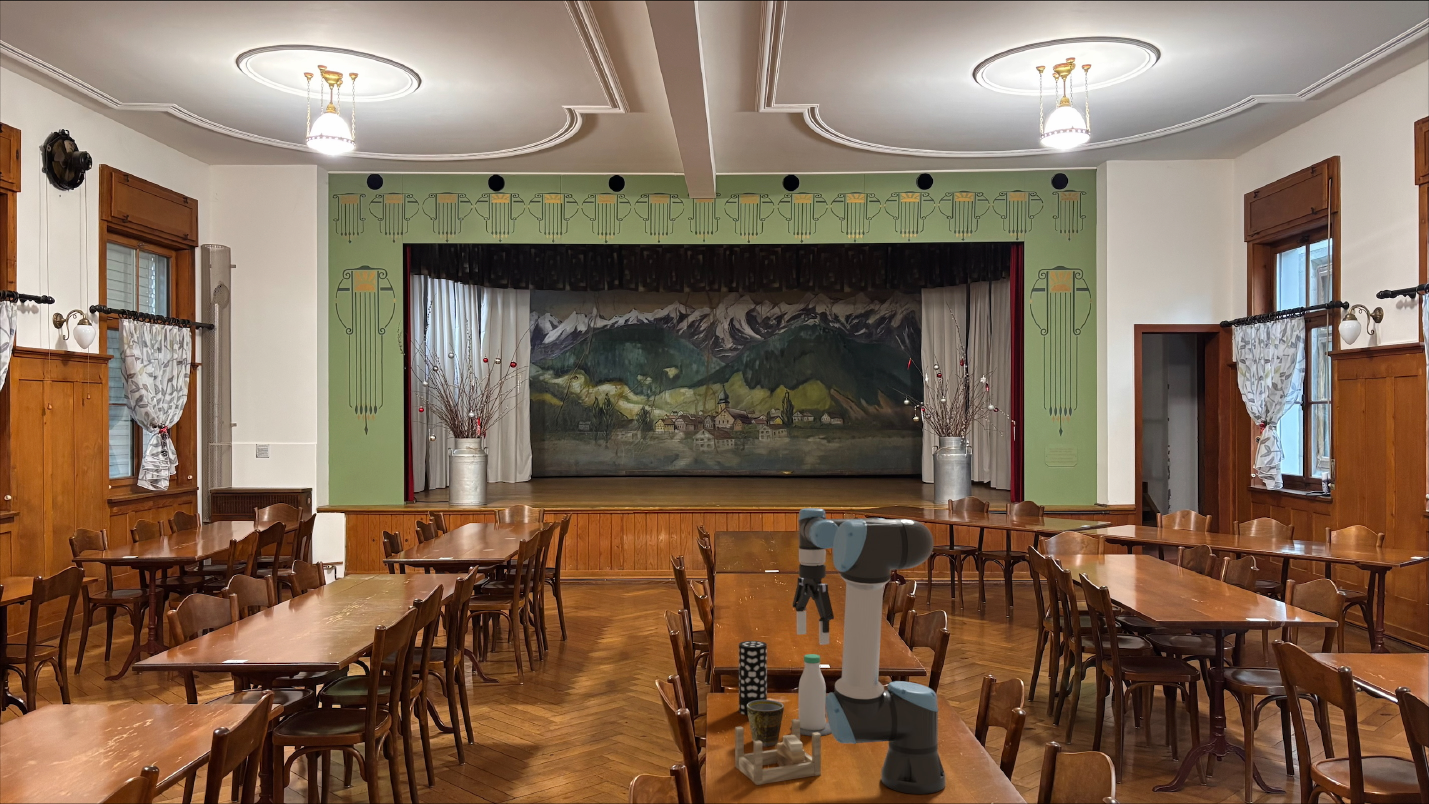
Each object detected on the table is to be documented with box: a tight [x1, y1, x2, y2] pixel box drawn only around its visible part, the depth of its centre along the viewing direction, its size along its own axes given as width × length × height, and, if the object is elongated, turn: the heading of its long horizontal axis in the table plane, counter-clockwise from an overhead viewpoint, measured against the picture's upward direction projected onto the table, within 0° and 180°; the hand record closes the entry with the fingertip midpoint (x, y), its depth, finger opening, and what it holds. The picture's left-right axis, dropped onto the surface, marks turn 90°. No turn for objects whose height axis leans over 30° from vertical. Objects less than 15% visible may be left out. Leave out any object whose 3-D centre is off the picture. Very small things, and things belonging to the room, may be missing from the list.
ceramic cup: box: [747, 699, 785, 748], centre depth 258 cm, size 13×10×10 cm
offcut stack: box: [776, 734, 806, 767], centre depth 240 cm, size 8×4×7 cm, turn 22°
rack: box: [734, 718, 822, 786], centre depth 238 cm, size 13×17×10 cm
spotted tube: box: [738, 640, 768, 716], centre depth 286 cm, size 8×8×20 cm
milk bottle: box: [798, 653, 827, 731], centre depth 270 cm, size 8×8×20 cm
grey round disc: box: [790, 721, 832, 737], centre depth 270 cm, size 12×12×1 cm
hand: (812, 639), depth 270 cm, fingers open, 13 cm apart
